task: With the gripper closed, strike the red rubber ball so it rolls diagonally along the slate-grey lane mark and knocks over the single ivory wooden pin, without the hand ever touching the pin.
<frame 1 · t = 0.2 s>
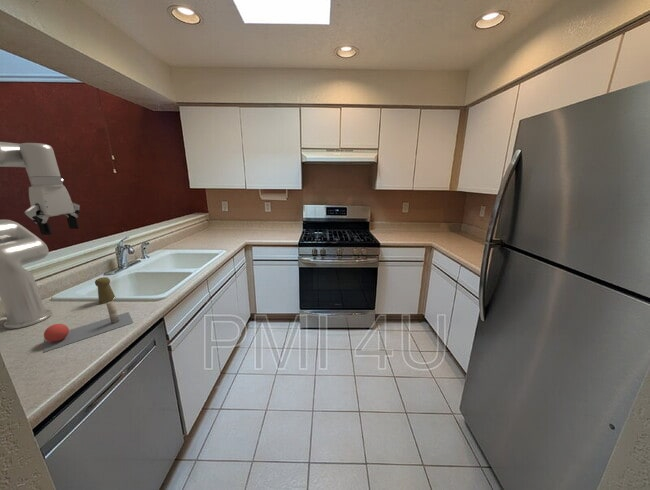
hand: (61, 231, 91), 36 cm above the countertop, tool pointing down, fingers open, 9 cm apart
lane mark: (91, 329, 95), on the countertop
cork: (107, 300, 117), on the countertop
pin: (115, 322, 99), on the countertop
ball: (56, 332, 88), on the countertop
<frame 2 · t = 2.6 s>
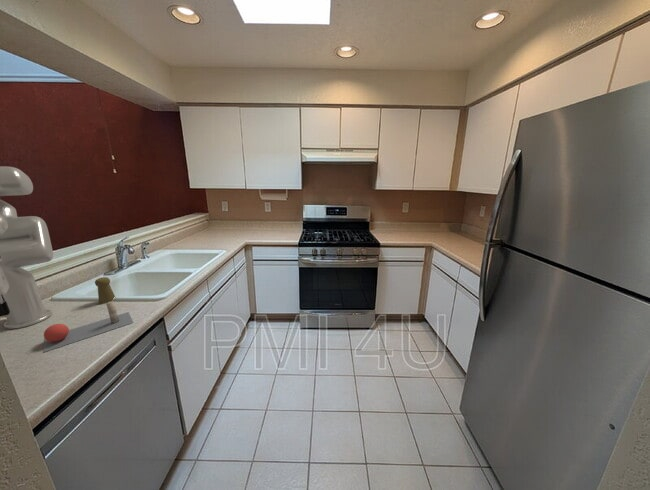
hand: (2, 315, 78), 14 cm above the countertop, tool pointing down, fingers closed
nothing on the countertop moved.
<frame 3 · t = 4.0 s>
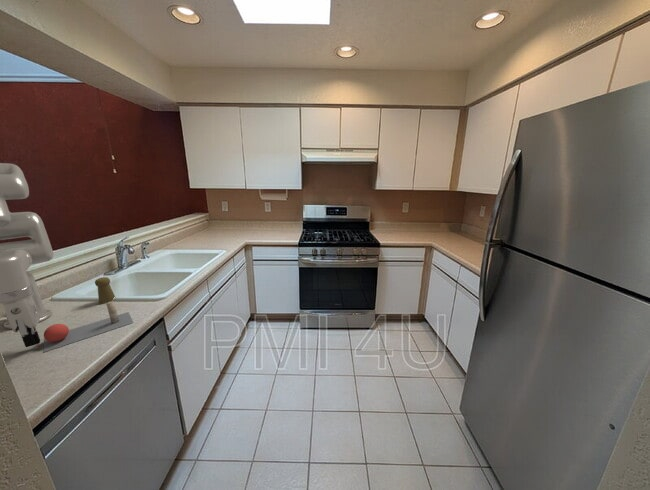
hand: (33, 344, 85), 2 cm above the countertop, tool pointing down, fingers closed
nothing on the countertop moved.
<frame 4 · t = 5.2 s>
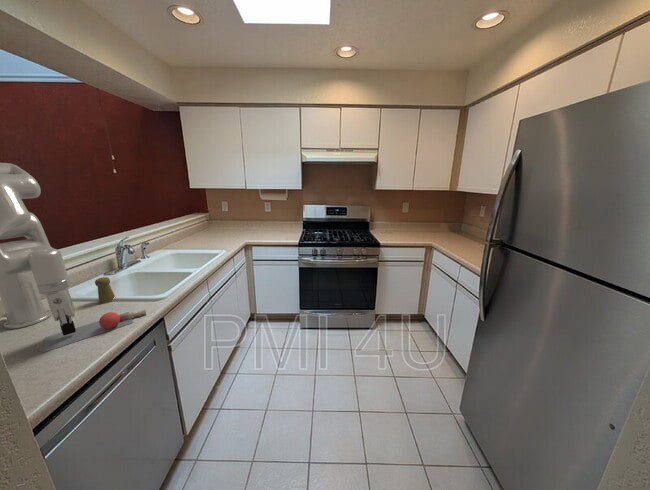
hand: (69, 332, 91), 2 cm above the countertop, tool pointing down, fingers closed
pin: (119, 318, 100), point 1 cm above the countertop, tilted 90°
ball: (109, 320, 95), on the countertop
everything else where it was.
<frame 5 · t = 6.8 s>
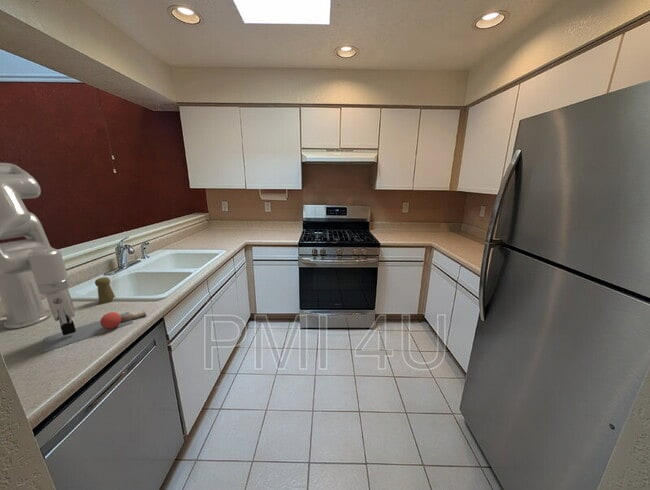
hand: (69, 332, 91), 2 cm above the countertop, tool pointing down, fingers closed
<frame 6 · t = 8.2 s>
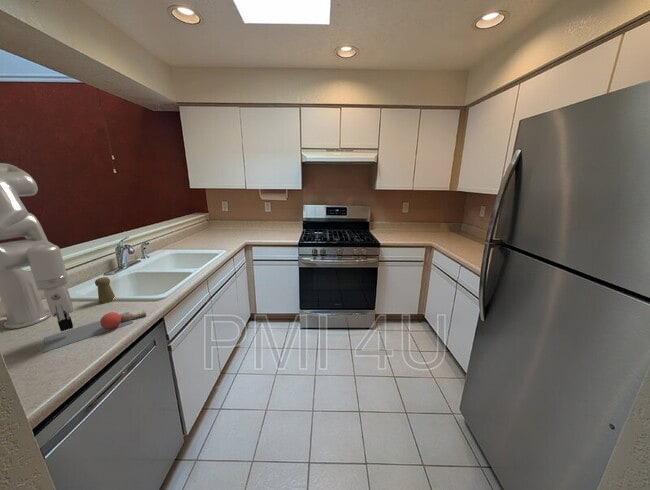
hand: (67, 328, 90), 3 cm above the countertop, tool pointing down, fingers closed
nothing on the countertop moved.
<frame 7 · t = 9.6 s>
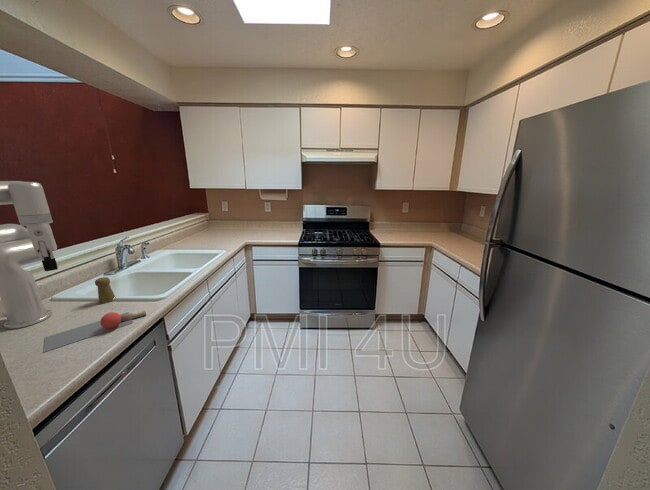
hand: (51, 269, 91), 23 cm above the countertop, tool pointing down, fingers closed
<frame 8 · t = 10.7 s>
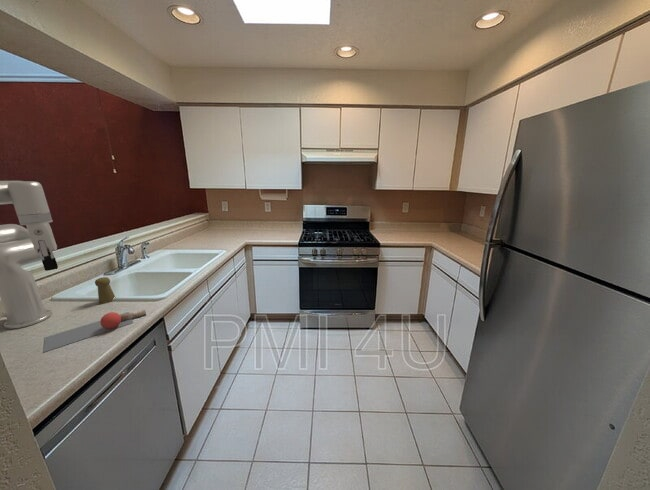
hand: (51, 269, 91), 23 cm above the countertop, tool pointing down, fingers closed
at the end: pin tilted 90°; pin never touched the robot; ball moved 14.9 cm from its start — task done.
